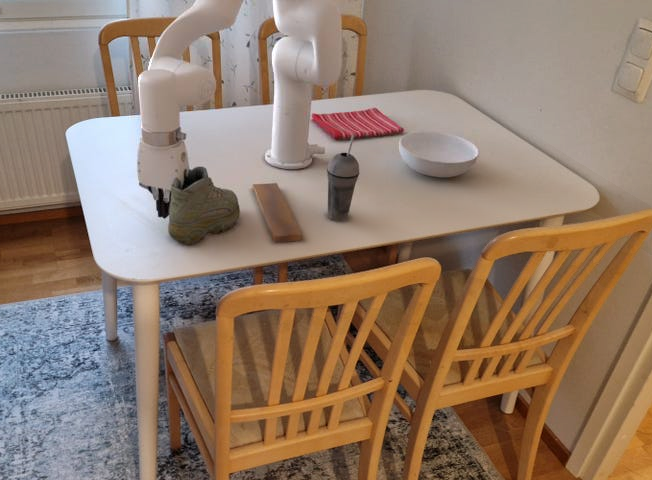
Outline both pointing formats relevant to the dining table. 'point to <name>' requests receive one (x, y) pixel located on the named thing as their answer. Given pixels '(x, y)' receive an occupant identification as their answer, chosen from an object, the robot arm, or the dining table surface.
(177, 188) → the sneaker
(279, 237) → the oak board
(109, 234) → the dining table surface
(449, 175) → the serving bowl
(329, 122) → the dish towel
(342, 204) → the beverage cup
